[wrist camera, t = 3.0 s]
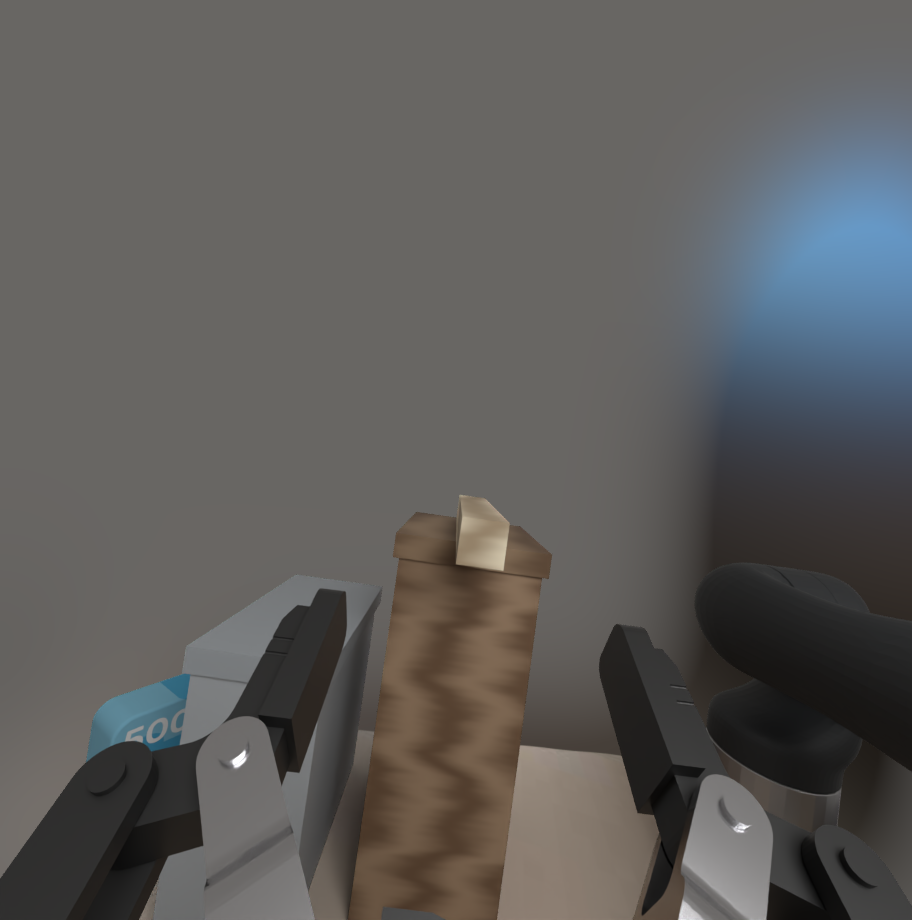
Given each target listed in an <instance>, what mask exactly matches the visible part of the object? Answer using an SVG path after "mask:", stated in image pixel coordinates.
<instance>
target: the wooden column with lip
mask: <svg viewBox="0 0 912 920" xmlns="http://www.w3.org/2000/svg"><path fill="white" fill-rule="evenodd" d="M393 557H396V558H399V563H398V570H397V577H396V585H395V591H394V599H393V605H392V612H391V619H390V626H389V633H388V640H387V647H386V655H385V662H384V669H383V676H382V683H381V690H380V697H379V704H378V711H377V718H376V726H375V732H374V739H373V746H372V753H371V760H370V767H369V775H368V782H367V789H366V796H365V803H364V810H363V817H362V824H361V831H360V838H359V845H358V852H357V859H356V866H355V873H354V880H353V888H352V895H351V902H350V909H349V916H348V920H381V916H382V910H383V907H391V908H399V909H407V910H415V911H423V912H432V913H434V914H436V915H438V916H440V917H442V918H444V919H446V920H497V914H498V907H499V899H500V892H501V884H502V876H503V869H504V861H505V854H506V846H507V839H508V831H509V824H510V816H511V808H512V801H513V793H514V786H515V778H516V771H517V763H518V756H519V748H520V740H521V733H522V725H523V717H524V710H525V703H526V695H527V688H528V680H529V672H530V665H531V657H532V649H533V642H534V635H535V627H536V620H537V611H538V604H539V597H540V589H541V581H542V578H546V579H549V573H550V565H551V558H552V555H551V553H549V552H548V551H547V550H546V549H545V548H544V547H543V546H541V545H540V544H539V543H538V542H537V541H536V540H535V539H534V538H532V537H531V536H530V535H529V534H528V533H527V532H526V531H525V530H523V529H522V528H521V527H520V526H512V525H509V532H508V540H507V547H506V555H505V562H504V570H503V571H501V570H494V569H487V568H480V567H473V566H465V565H458V564H456V518H455V517H448V516H441V515H434V514H427V513H419V512H416V513H415V514H414V515H413V516H412V517H411V518H410V519H409V520H408V521H407V522H406V523H405V524H404V526H403V527H402V528H401V529H400V530H399V531H398V532H397V533H396V539H395V546H394V553H393Z"/></svg>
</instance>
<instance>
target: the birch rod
mask: <svg viewBox="0 0 912 920" xmlns="http://www.w3.org/2000/svg"><path fill="white" fill-rule="evenodd" d="M509 525H510V523H509V522H508V521H507V520H506V519H505V518H504V517H503V516H502V515H501V514H500V513H499V512H498V511H497V510H496V509H495V508H494V507H493V506H492V505H491V504H490V503H489V502H488V501H487V500H486V499H485V498H478V497H470V496H464V495H460V497H459V504H458V511H457V518H456V564H458V565H465V566H473V567H480V568H487V569H494V570H501V571H503V570H504V562H505V555H506V547H507V540H508V532H509Z"/></svg>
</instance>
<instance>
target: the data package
mask: <svg viewBox="0 0 912 920" xmlns="http://www.w3.org/2000/svg"><path fill="white" fill-rule="evenodd" d="M190 675H191V674H182V675H179V676H176V677H173V678H170V679H167V680H164V681H161V682H158V683H155V684H152V685H149V686H146V687H143V688H140V689H137V690H134V691H132V692H129V693H125V694H122V695H119V696H117V697H114V698H112V699H110V700H109V701H107V702H106V703H105V704H104V705H102V706H101V707H100V709H99V710H98V711H97V713H96V714H95V716H94V718H93V722H92V729H91V735H90V741H89V748H88V754H87V760H86V762H87V761H88V760H90V759H91V758H92V757H93V756H95V755H96V754H98V753H99V752H101V751H102V750H104V749H106V748H108V747H110V746H112V745H115V744H118V743H121V742H126V741H138V742H141V743H144V744H145V745H146V746H148V747H149V749H150V750H151V751H155V750H160V749H164V748H169V747H173V746H178V745H180V740H181V733H182V727H183V720H184V714H185V707H186V701H187V694H188V688H189V681H190Z"/></svg>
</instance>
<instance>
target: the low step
mask: <svg viewBox="0 0 912 920" xmlns="http://www.w3.org/2000/svg"><path fill="white" fill-rule="evenodd" d="M320 588H324V589H332V590H340V591H345V592H346V603H347V631H346V637H345V642H344V645H343V649H342V652H341V654H340V657H339V660H338V663H337V666H336V669H335V672H334V675H333V678H332V680H331V683H330V686H329V689H328V692H327V695H326V698H325V701H324V704H323V706H322V709H321V712H320V715H319V718H318V721H317V724H316V727H315V730H314V732H313V735H312V738H311V741H310V744H309V747H308V750H307V753H306V756H305V758H304V761H303V764H302V767H301V770H300V773H295V772H287V773H286V776H285V779H284V781H283V784H282V790H283V794H284V798H285V802H286V807H287V811H288V815H289V819H290V823H291V826H292V829H293V833H294V837H295V840H296V844H297V848H298V853H299V857H300V861H301V865H302V869H303V873H304V877H305V881H306V885H307V889H308V890H309V887H310V884H311V881H312V878H313V875H314V873H315V870H316V867H317V864H318V861H319V859H320V856H321V853H322V850H323V847H324V844H325V842H326V839H327V836H328V833H329V830H330V827H331V825H332V822H333V819H334V816H335V813H336V810H337V808H338V805H339V802H340V799H341V796H342V793H343V791H344V788H345V785H346V782H347V779H348V776H349V774H350V771H351V768H352V765H353V760H354V753H355V746H356V739H357V732H358V725H359V718H360V711H361V704H362V697H363V690H364V683H365V676H366V669H367V662H368V655H369V648H370V641H371V634H372V627H373V620H374V613H375V611H376V609H377V607H378V606H379V604H380V601H381V594H382V587H381V586H374V585H367V584H360V583H353V582H346V581H339V580H331V579H325V578H317V577H309V576H302V575H295V576H293V577H292V578H290V579H289V580H288V581H286V582H284V583H283V584H281V585H280V586H278V587H277V588H275V589H274V590H272V591H270V592H269V593H267V594H266V595H264V596H263V597H261V598H260V599H258V600H257V601H255V602H254V603H252V604H250V605H249V606H247V607H246V608H244V609H243V610H241V611H240V612H238V613H237V614H235V615H234V616H232V617H230V618H229V619H227V620H226V621H224V622H223V623H221V624H220V625H218V626H217V627H215V628H214V629H212V630H211V631H209V632H207V633H206V634H204V635H203V636H201V637H200V638H198V639H197V640H195V641H194V642H192V643H191V644H189V645H188V646H186V651H185V658H184V664H183V671H182V673H184V674H191V675H190V681H189V688H188V694H187V701H186V707H185V714H184V720H183V727H182V733H181V740H180V745H182V744H186V743H190V742H194V741H196V740H199V739H201V738H203V737H205V736H207V735H208V734H210V733H211V732H213V731H214V730H215V729H216V728H218V727H219V726H220V725H221V724H222V723H223V722H224V721H225V720H226V719H227V718H228V717H229V715H230V714H231V713H232V711H233V709H234V708H235V706H236V704H237V702H238V700H239V698H240V697H241V695H242V693H243V691H244V689H245V687H246V685H247V684H248V682H249V680H250V678H251V676H252V674H253V672H254V671H255V669H256V667H257V665H258V663H259V661H260V659H261V657H262V656H263V654H265V650H266V648H267V646H268V644H269V643H270V641H271V639H273V635H274V633H275V631H276V629H277V628H278V626H279V624H280V622H281V620H282V619H283V618H284V617H285V616H286V615H287V614H288V613H289V612H290V611H291V610H292V609H293V608H294V607H296V606H297V605H303V606H310V605H311V603H312V601H313V599H314V597H315V595H316V593H317V591H318V590H319V589H320ZM205 884H206V865H205V855H204V846H201V847H198V848H194V849H191V850H188V851H184V852H181V853H177V854H174V855H171V856H168V858H167V860H166V862H165V865H164V867H163V869H162V871H161V873H160V876H159V883H158V889H157V896H156V902H155V909H154V915H153V920H205V909H204V887H205Z"/></svg>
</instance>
